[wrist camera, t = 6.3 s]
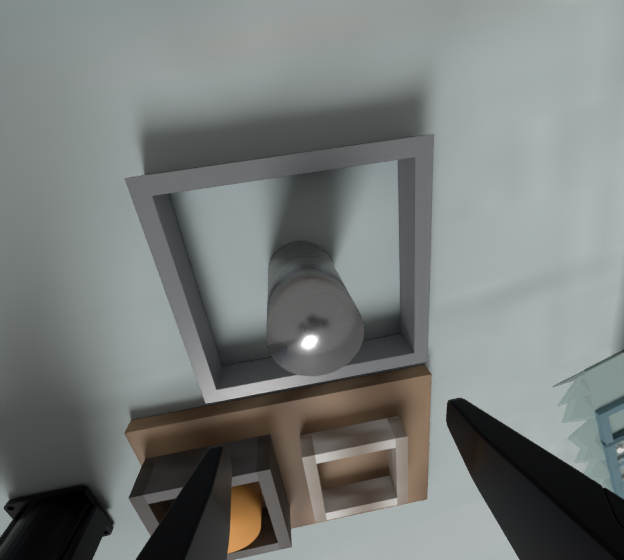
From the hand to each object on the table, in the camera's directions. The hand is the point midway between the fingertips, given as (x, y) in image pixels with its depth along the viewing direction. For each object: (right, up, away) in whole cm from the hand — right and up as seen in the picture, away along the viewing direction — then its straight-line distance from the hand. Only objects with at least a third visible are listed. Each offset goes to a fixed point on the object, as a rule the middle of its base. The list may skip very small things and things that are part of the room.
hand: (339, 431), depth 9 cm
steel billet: (-2, +5, +12) cm, 13 cm away
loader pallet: (-2, -12, +19) cm, 22 cm away
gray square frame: (-2, +5, +12) cm, 13 cm away
